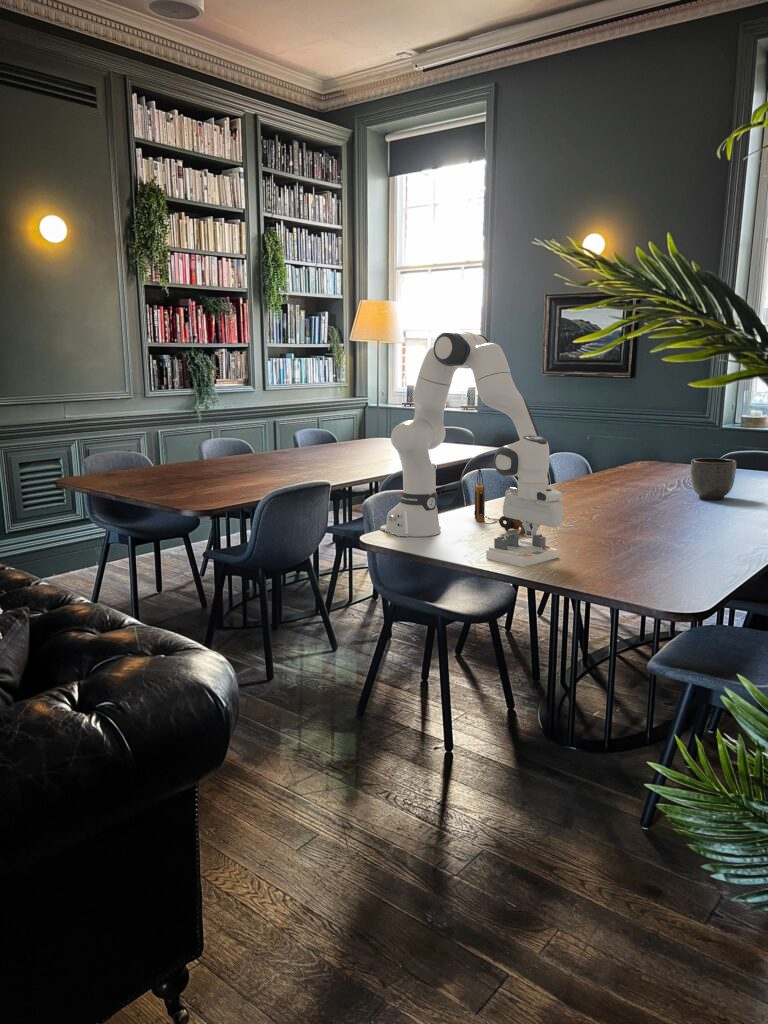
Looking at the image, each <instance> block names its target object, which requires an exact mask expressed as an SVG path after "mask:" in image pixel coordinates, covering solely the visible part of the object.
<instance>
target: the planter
mask: <svg viewBox="0 0 768 1024" xmlns="http://www.w3.org/2000/svg"><path fill="white" fill-rule="evenodd" d="M736 472H737V460H735V459H729V458H720V457H719V458H718V457H717V458H716V457H714V458H713V457H701V458H693V459H691V461H690V481H691V486H692V489H693V491H694V492H695V493H696V494H697V495H698V497H699V498H700V499H702V500H705V501H721V500H723V499H724V498H725V497H726V496H727V495H728V494H729V493H730V492H731V490H733V487H734V483H735V479H736Z"/></svg>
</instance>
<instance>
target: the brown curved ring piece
mask: <svg viewBox="0 0 768 1024" xmlns="http://www.w3.org/2000/svg"><path fill="white" fill-rule="evenodd" d="M498 519H499V521H498V524H499V525H500V528H503V529H504V530H505V532H506V531H507V532H508V531H509V530H516V529H518V530H520V531H519V535H520V536H524V535H525V529H524V527H523V524H522V523H523V521H522V520H517V519H513V518H508V517H505V516H504V515H502V516H500V518H498ZM504 521H505V523H504ZM529 525H530V529H531V530H532V529H533V526H532V523H531V524H529Z"/></svg>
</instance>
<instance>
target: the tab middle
mask: <svg viewBox="0 0 768 1024" xmlns="http://www.w3.org/2000/svg"><path fill="white" fill-rule="evenodd" d="M505 538H506V539H508V541H507V545H508V546H513V547H519V540H520V539H519V538H520V536H518V535H517V534H516V533H515V532H513V533H509V534H507V535H505Z"/></svg>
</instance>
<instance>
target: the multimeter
mask: <svg viewBox="0 0 768 1024" xmlns="http://www.w3.org/2000/svg"><path fill="white" fill-rule="evenodd" d="M476 467H477V470H478V472H477V477H476V479H477V484H474V513H473V514H474V520H475V521H476V522H477V523H484V524H486V525H491V524H495V523H497V522H499V519H500V518H490V517H489V516H487V517H488V518H487V519H488V520H493V522H490V523H487V522H486V521H485V520H486V519H485V518H486V516H485V512H486V510H485V509H486V508H485V505H486V503H485V501H486V500H485V499H486V498H485V497H486V495H485V494H486V492H485V490H486V489H485V486H484V480H483V475H482V470H481V468H480V466H479V465H478V466H476ZM484 516H485V517H484Z"/></svg>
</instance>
